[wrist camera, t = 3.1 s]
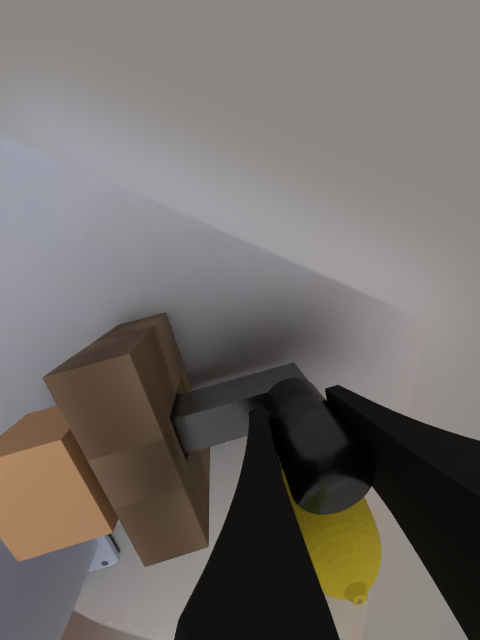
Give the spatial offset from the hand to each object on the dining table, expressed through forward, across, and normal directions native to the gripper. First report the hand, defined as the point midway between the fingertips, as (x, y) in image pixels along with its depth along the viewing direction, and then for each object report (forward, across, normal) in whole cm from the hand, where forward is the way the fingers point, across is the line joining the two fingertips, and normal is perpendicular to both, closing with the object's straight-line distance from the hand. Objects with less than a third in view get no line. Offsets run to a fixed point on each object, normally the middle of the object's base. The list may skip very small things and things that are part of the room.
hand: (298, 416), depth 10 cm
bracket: (+6, +7, 0) cm, 9 cm away
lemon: (+6, -1, +9) cm, 11 cm away
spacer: (+3, +11, 0) cm, 11 cm away
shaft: (+3, +6, 0) cm, 7 cm away
